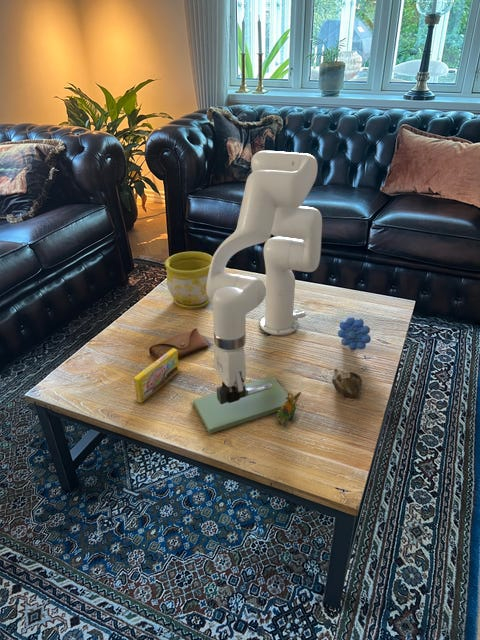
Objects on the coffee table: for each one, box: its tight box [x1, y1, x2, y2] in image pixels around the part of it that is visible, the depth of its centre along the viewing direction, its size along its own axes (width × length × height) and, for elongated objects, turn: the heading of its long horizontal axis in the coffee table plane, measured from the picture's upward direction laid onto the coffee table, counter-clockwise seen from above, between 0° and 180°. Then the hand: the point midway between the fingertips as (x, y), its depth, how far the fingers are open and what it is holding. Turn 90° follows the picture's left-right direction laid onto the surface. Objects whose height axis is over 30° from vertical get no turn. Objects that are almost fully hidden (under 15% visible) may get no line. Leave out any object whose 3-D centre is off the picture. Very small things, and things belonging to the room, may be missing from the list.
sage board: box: [192, 375, 291, 435], centre depth 117 cm, size 24×12×2 cm, turn 114°
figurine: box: [275, 391, 302, 428], centre depth 111 cm, size 3×12×8 cm, turn 144°
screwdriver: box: [216, 382, 272, 404], centre depth 115 cm, size 15×3×4 cm, turn 114°
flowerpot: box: [164, 251, 213, 310], centre depth 162 cm, size 18×18×16 cm
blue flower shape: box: [337, 316, 372, 352], centre depth 136 cm, size 12×7×12 cm, turn 40°
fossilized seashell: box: [331, 368, 363, 398], centre depth 122 cm, size 8×7×10 cm
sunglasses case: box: [148, 327, 211, 362], centre depth 139 cm, size 18×7×7 cm, turn 130°
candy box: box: [133, 348, 180, 404], centre depth 122 cm, size 16×2×8 cm, turn 148°
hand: (231, 396), depth 114 cm, fingers closed on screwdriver, 2 cm apart
